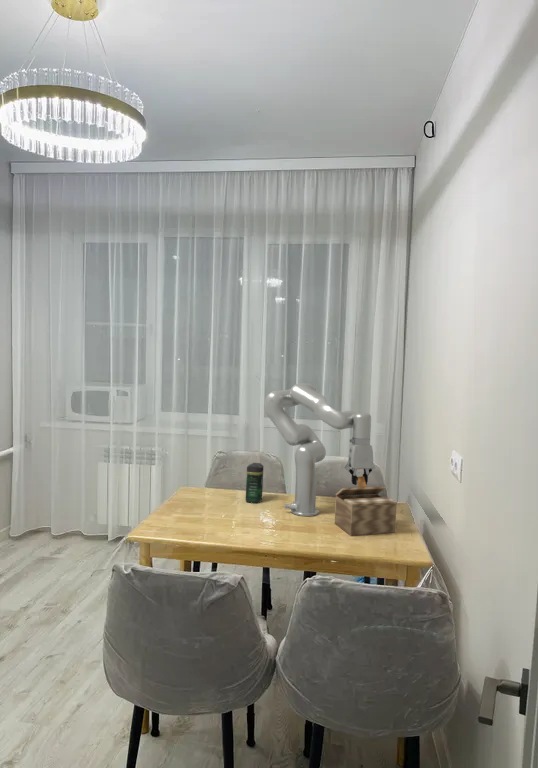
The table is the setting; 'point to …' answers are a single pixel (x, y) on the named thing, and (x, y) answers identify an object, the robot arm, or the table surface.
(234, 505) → the table surface
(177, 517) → the table surface
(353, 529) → the carton
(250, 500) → the coffee jar
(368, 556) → the table surface
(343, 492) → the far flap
